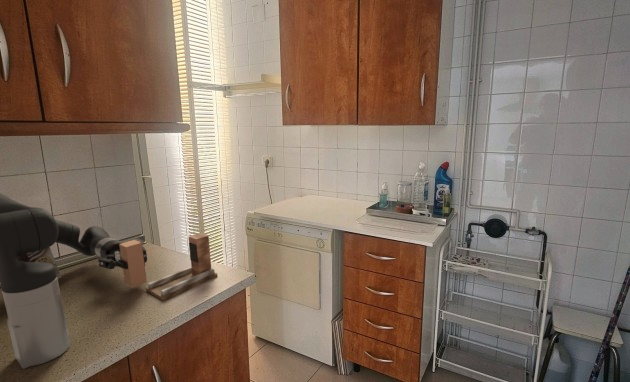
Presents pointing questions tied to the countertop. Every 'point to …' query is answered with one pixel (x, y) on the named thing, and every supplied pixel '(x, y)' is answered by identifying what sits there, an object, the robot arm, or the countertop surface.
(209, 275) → the rail base
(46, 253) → the coffee box
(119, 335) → the countertop surface
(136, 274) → the block
